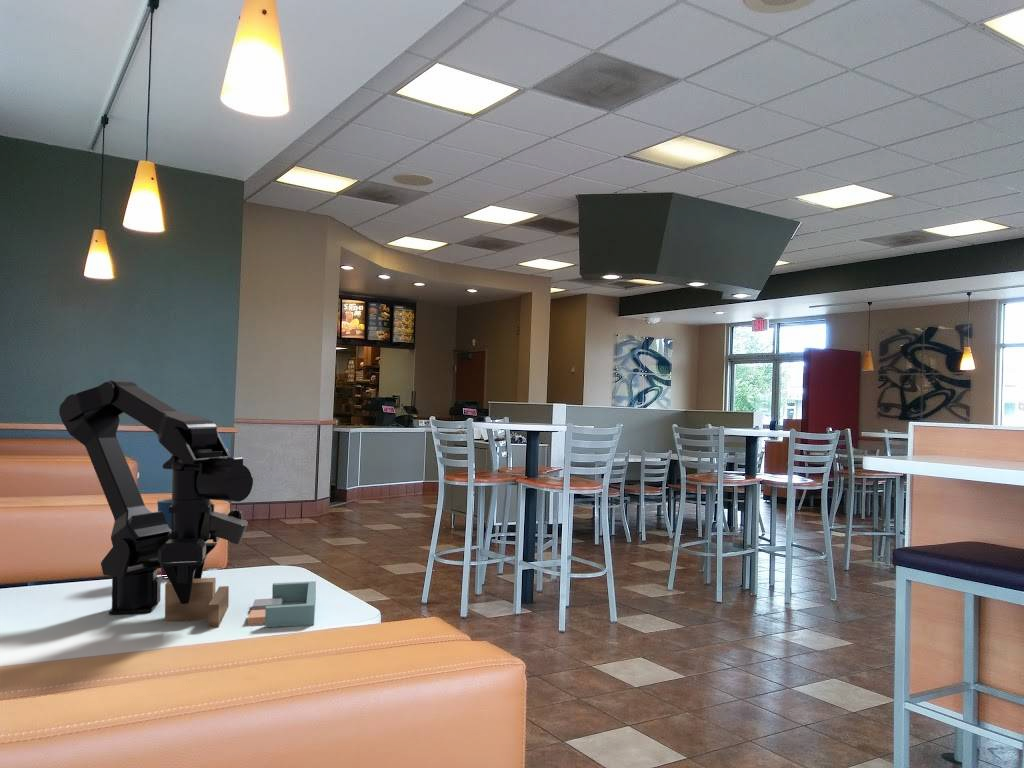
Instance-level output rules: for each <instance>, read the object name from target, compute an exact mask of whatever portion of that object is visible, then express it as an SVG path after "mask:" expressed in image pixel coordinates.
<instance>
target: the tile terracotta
mask: <svg viewBox="0 0 1024 768" xmlns="http://www.w3.org/2000/svg"><path fill="white" fill-rule="evenodd" d="M261 623H265V610H253V609H251V610H250V612H249V615H248V616H247V626H252V625H253V626H254V625H262V624H261Z"/></svg>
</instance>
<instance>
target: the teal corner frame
mask: <svg viewBox="0 0 1024 768" xmlns="http://www.w3.org/2000/svg"><path fill="white" fill-rule="evenodd" d="M316 587H317V581H316V580H314V581H312V580H311V581H291V582H275V583H272V591H271V592H272V594H271V595H272V598H282V603H288V602H306V603H300V604H299V603H298V604H282V605H277V606H266V608H265V624H264V625H265V626H264V628H265V629H269V628H268V627H272V628H277V627H276V626H288V627H298V626H299V627H301V626H302V627H303V626H314V625H315V615H316V612H315V611H316V603H317V602H316V600H317V598H316V597H317V590H316Z"/></svg>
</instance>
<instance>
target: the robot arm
mask: <svg viewBox="0 0 1024 768" xmlns="http://www.w3.org/2000/svg"><path fill="white" fill-rule="evenodd" d="M58 412H59V413H58V414H59V416H60V420H61V422H62V423H63V425H64V427H65V429H66V431H67V432H68V434H69V435H70V436H71V437H73V438H74V439H75V440H76V441H77V442H79V443H81V444H82V445H83V446H84V447H85V450H86V451H87V454H88V457H89V459H90V462H91V464H92V466H93V469H94V472H95V474H96V477H97V479H98V481H99V484H100V487H101V489H102V491H103V494H104V496H105V499H106V501H107V503H108V506H109V509H110V511H111V514H112V517H113V518H114V522H113V527H112V530H111V535H110V540H111V544H112V547H111V549H110V550H109V551H108V552H107V554H106V555H105V556H104V558H103V559H102V560H101V562H100V567H101V571H102V574H103V575H102V576H108V577H111V585H112V586H111V608H110V609H109V610H108V614H109V615H113V614H115V615H117V614H133V613H134V614H137V613H150V612H152V611H154V609H155V608H156V607H157V606H158V605H159V604H160V602H161V580H162V579H161V578H162V577H159V576H158V569H161V568H164V570H165V572H166V574H167V576H168V578H169V579H168V581H169V580H170V582H171V584H172V586H173V588H174V590H175V592H176V594H177V596H178V598H179V601H180V603H181V604H188V603H189V600H190V595H191V590H192V585H193V579H198V578H203V577H202V576H203V572H204V567H205V564H206V560H207V556H208V554H209V553H210V552H212V550H214V549H215V547H216V546H217V545H218V542H219V540H220V539H223V540H225V541H226V540H227V541H229V543H230V544H234V545H240V543H241V542H242V539H243V537H244V534H245V532H246V530H247V528H248V527H247V526H248V525H249V521H248V520H246V519H244V518H243V511H242V510H238V509H235V508H233V509H232V510H231V511H230V512H229V513H227V514H226V513H225V512H218V511H215V504H214V503H213V501H225V502H242V501H244V500H246V499H247V498H248V497H249V495H250V493H251V492H252V489H253V486H254V478H253V476H252V473H251V471H250V469H249V468H248V467H247V466H246V465H244V457H242V456H241V457H240V456H239V457H238V456H237V457H236V456H235V457H232V455H231V454H230V452H229V450H228V448H227V447H226V445H225V443H224V441H223V439H222V437H221V435H220V433H219V431H218V426H217V425H216V424H215V423H214V421H212V420H210V419H208V418H205V417H202V416H198V415H195V414H191V413H190V414H189V413H186V412H181V411H179V410H176V409H175V408H173V407H171V406H170V405H168V404H167V403H165V402H163V401H162V400H160V399H159V398H157V397H155V396H154V395H152V394H150V393H149V392H147V391H145V390H144V389H142V388H140V387H139V386H138V384H137V383H135V382H133V381H131V380H108V381H106V382H103V383H102V384H100V385H98V386H95V387H92V388H89V389H85V390H83V391H79V392H77V393H74V394H69V395H67V396H66V397H65V399H64V401H62V402H61V404H60V405H59V411H58ZM123 414H126V415H127V416H129V417H131V418H132V419H134V420H135V421H137V422H138V423H140V424H142V425H143V426H145V427H146V428H147V429H150V430H151V431H152V432H154V433H155V434H156V435H157V439H158V443H159V444H160V445H161V446H162V447H163V448H164V449H165V450H167V452H168V453H169V454H170V455H171V457H170V458H169V459H168V460H166V461H165V462H164V463H163V464H162V469H164V470H172V471H171V473H172V475H171V476H172V478H171V480H172V481H171V485H172V486H171V492H172V493H171V498H172V505H171V506H170V507H169V513H172V530H171V529H170V528H169V527H168V525H167V522H166V519H165V515H164V514H163V513H162V512H161V511H158V510H157V511H154V512H153V511H151V510H150V509H148V508H147V506H146V505H145V502H144V499H143V497H142V495H141V493H140V491H139V487H138V485H137V483H136V481H135V478H134V476H133V474H132V471H131V468H130V466H129V464H128V461H127V458H126V456H125V454H124V452H123V449H122V447H121V445H120V441H119V439H118V436H117V433H118V429H119V425H120V421H121V419H120V416H121V415H123ZM211 500H213V501H211ZM209 540H210V541H211V540H212V542H209Z"/></svg>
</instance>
